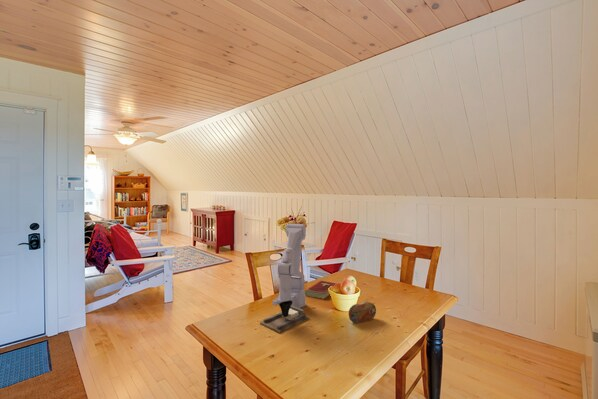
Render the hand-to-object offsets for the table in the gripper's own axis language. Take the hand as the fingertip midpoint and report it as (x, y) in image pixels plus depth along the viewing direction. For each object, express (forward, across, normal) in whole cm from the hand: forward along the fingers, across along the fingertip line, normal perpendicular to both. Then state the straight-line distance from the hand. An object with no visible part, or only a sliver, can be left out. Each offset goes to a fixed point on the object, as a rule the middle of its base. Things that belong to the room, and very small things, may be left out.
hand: (285, 316), depth 138 cm
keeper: (+2, -4, 0) cm, 4 cm away
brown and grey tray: (+2, 0, 0) cm, 2 cm away
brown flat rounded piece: (+3, -26, +26) cm, 37 cm away
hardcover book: (+3, -44, -12) cm, 45 cm away
